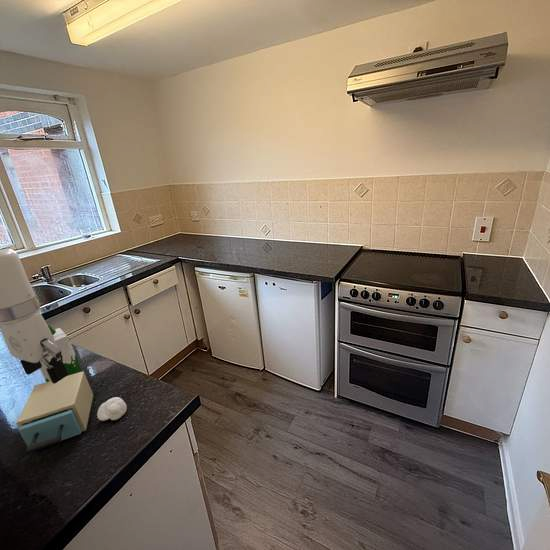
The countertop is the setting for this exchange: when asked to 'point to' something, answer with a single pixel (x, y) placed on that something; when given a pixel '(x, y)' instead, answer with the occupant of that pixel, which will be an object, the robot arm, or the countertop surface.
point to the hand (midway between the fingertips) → (47, 374)
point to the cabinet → (59, 399)
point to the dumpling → (112, 409)
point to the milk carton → (66, 351)
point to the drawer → (50, 430)
